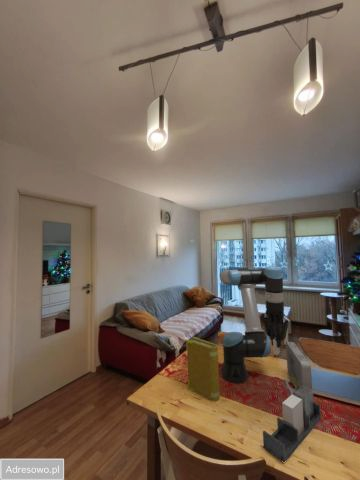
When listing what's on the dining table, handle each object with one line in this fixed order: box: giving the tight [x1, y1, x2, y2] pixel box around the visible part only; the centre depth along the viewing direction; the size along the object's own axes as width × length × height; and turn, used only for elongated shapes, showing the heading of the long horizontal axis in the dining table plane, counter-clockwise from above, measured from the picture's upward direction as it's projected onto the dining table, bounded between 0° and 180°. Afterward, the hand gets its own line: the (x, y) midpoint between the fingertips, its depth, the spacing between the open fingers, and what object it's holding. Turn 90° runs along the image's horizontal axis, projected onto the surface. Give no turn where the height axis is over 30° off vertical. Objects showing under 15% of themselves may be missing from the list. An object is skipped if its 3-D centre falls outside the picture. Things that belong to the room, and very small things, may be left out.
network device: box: [285, 341, 313, 396], centre depth 109 cm, size 26×9×20 cm, turn 168°
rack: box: [262, 385, 322, 463], centre depth 85 cm, size 8×31×12 cm, turn 127°
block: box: [281, 394, 304, 435], centre depth 85 cm, size 4×8×11 cm, turn 127°
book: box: [185, 336, 220, 402], centre depth 111 cm, size 17×7×25 cm, turn 47°
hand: (276, 353), depth 96 cm, fingers closed
